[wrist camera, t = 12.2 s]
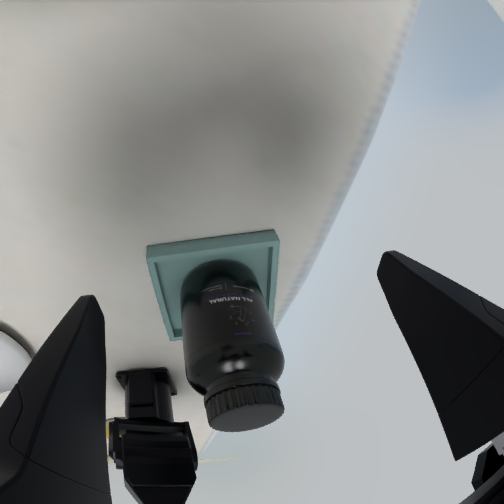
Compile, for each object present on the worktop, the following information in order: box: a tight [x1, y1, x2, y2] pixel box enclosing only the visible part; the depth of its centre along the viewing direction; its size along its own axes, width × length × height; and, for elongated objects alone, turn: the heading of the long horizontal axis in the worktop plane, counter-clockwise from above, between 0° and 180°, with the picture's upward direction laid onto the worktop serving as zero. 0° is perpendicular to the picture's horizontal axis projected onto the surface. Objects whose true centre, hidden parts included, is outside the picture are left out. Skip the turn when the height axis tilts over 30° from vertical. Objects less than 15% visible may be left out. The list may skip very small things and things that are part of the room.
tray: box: [146, 230, 280, 341], centre depth 25 cm, size 10×10×2 cm
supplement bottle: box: [180, 261, 285, 432], centre depth 21 cm, size 7×7×12 cm
